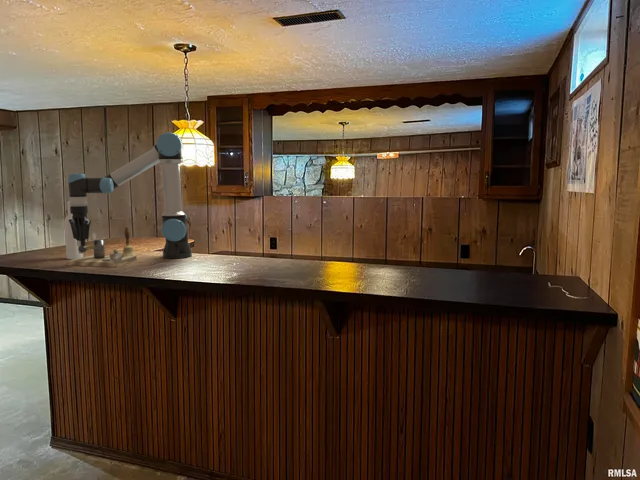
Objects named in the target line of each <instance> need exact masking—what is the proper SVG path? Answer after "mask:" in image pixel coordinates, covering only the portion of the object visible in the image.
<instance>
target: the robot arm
mask: <svg viewBox="0 0 640 480" xmlns="http://www.w3.org/2000/svg"><path fill="white" fill-rule="evenodd" d="M183 150H184V143H183V141H182V139H181V138H180V136H179V135H178V134H176V133H175V132H174V133H173V132H167V131H166V132H163V133H162V134H160V135H159V136H158V137H157V139H156V144H154V145H153V147H152V149H150V150H148V151H146V152H144V153H143V154H141V155H139V156H138V157H136V158H134V159H132V160H131V161H129V162H128V163H125V164H124V165H122V166H120V167H119V168H117V169H116V170H114V171H113V172H111V173H109V174H107V175H105V176H104V177H87V176H86V174H85V173H70V174H68V175H67V176H68V177H67V178H68V180H67V181H68V182H67V183H68V184H67V185H68V194H69V195H68V196H69V199H68V201H70V205H71V207H70V213H71V214H73V216H72V219H69V222H70V224H71V229H72V233H73V237H74V239H76V240H77V244H78V248H79V246H81V245H84V246H86V240H88V239H89V235H90V227H91V226H90V225H91V223H92V220H91V219H88V215H87V214H88V213H89V211H88V209H89V208H88V206H87V205H88V198H87V197H88V195H87V194H105V195H106V194H112V193H113V191H114V190H115V189H117V188H119V187H120V186H122V185H124V184H125V183H127V182H129V181H131V180H132V179H133V178H135V177H137V176H139V175H141V174H142V173H144V172H145V171H147V170H148V169H151V168H152V167H155V166H156V165H158V164H159V163H161V167H162V185H163V187H162V189H163V203H164V205H163V206H164V211H163V213H162V214H161V224H162V225H161V234H162V235H163V238H165V243H164V244H165V245H164V247H163V251H162V257H163V258H164V259H185V258H190V257H191V256H193V252H192V249H191V246H190V243H189V233H188V229H189V228H188V221H189V220H188V215H187V214H186V213H185V212H184V211H183V196H182V180H181V163H182V162H183V161H184V158H183V157H184V155H183ZM78 253H79V254H83V255H84V254H86V251H85V252H84V253H81V252H80V251H79V250H78Z"/></svg>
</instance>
